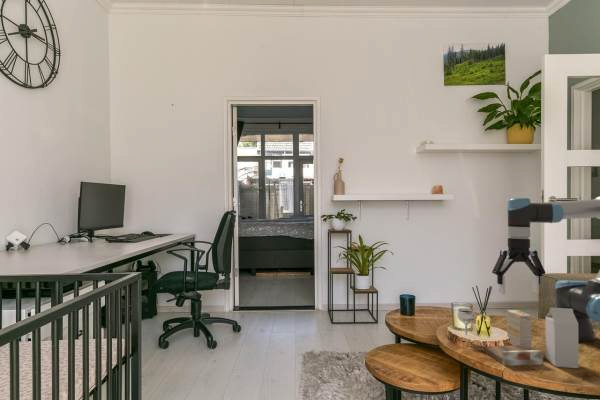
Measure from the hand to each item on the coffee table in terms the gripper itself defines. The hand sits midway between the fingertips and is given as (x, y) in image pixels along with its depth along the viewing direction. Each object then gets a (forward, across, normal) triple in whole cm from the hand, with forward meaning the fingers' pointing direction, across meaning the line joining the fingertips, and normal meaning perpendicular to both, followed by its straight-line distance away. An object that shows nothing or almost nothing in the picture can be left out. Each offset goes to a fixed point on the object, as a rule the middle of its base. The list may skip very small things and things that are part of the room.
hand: (518, 292), depth 145 cm
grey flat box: (+21, +10, +10) cm, 25 cm away
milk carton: (+21, -4, +16) cm, 27 cm away
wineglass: (+21, +17, -8) cm, 28 cm away
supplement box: (+21, 0, 0) cm, 21 cm away
